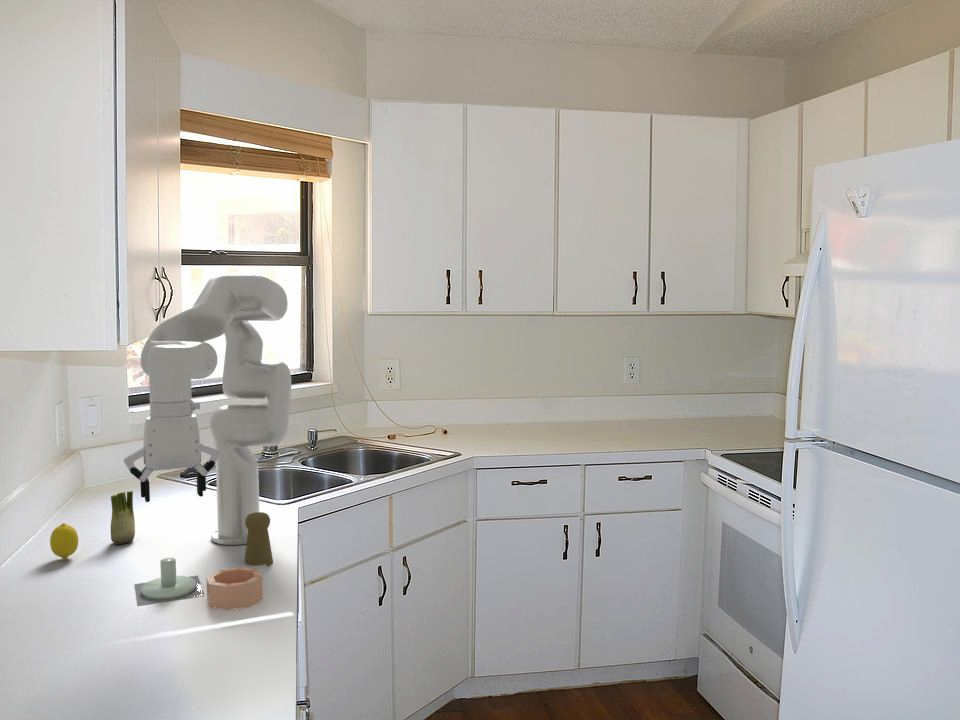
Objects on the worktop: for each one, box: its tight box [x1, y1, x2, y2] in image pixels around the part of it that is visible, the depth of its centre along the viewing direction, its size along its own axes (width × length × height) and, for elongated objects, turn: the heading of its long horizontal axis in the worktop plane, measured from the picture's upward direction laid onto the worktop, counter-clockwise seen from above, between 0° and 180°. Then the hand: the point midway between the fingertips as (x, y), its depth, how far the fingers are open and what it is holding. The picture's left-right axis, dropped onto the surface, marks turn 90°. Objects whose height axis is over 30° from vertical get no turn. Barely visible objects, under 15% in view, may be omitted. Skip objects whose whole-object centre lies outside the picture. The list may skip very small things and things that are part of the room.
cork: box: [244, 511, 274, 567], centre depth 181 cm, size 6×6×11 cm
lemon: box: [49, 522, 79, 560], centre depth 184 cm, size 6×6×8 cm
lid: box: [141, 557, 196, 600], centre depth 165 cm, size 10×10×6 cm
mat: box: [134, 575, 205, 607], centre depth 165 cm, size 12×12×1 cm
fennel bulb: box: [110, 490, 136, 545], centre depth 195 cm, size 6×5×12 cm
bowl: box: [206, 566, 263, 610], centre depth 160 cm, size 10×10×5 cm
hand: (174, 497), depth 162 cm, fingers open, 9 cm apart
